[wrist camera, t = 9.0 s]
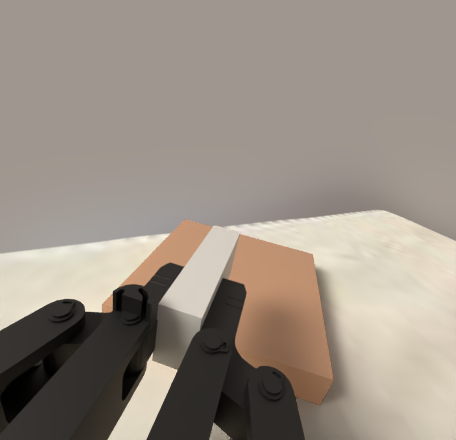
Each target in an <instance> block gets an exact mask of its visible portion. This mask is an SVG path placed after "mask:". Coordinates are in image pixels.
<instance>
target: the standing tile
mask: <svg viewBox="0 0 456 440" xmlns="http://www.w3.org/2000/svg"><path fill="white" fill-rule="evenodd" d="M211 229H212V227H211V226H208V225H204V224H201V223H197V222H193V221H190V220H186V219H185V220H184V221H183V222H182V223H181V224H180V225H179V226H178V227H177V228H176V229H175V230H174V231H173V232H172V233H171V234H170V235H169V236H168V237H167V238H166V239H165V240H164V241H163V242H162V243H161V244H160V245H159V246H158V247H157V248H156V249H155V250H154V251H153V252H152V254H151V255H150V256H149V257H148V258H147V259H146V260H145V261H144V262H143V263H142V264H141V265H140V266H139V267H138V268H137V269H136V270H135V271H134V272H133V273H132V274H131V275H130V276H129V277H128V278H127V279H126V280H125V281H124V282H123V283H122V284H121V285H120V286H119V287H121V286H124V285H129V284H137V285H142V286H145V285H146V284H147V282H148V281H150V279H151V278H152V277H153V275H155V273H156V272H157V271H158V270H159V268H160V267H162V266H164V265H166V264H168V263H170V262H171V263H174V264H177V265H180V266H184V267H185V265H186V264H187V263H188V261H189V260H190V258H191V257H192V256H193V254H194V253H195V251H196V250H197V249H198V247H199V246H200V244H201V243H202V242H203V240H204V239H205V237H206V236H207V234H208V233H209V232H210V230H211ZM228 280H232V281H235V282H238V283H241V284H244V285H245V289H246V292H247V294H246V298H245V302H244V306H243V310H242V314H241V318H240V321H239V325H238V329H237V333H236V337H235V345H236V349H237V351H238V353H239V354H240V356H241V357H242V358H243V359H244V360H245V361H246V362H248V363H249V364H250V365H252V366H253V367H255V368H258V367H259V366H270V367H274V368H276V369H278V370H279V371H281V372H282V373H284V375H285V376H286V377H287V378H288V379H289V381H290V383H291V385H292V388H293V390H294V394H295V397H297V398H300V399H303V400H306V401H309V402H312V403H315V404H318V405H320V404H321V402H322V400H323V398H324V397H325V395H326V393H327V391H328V389H329V388H330V386H331V384H332V382H333V380H334V379H333V373H332V367H331V361H330V355H329V349H328V343H327V337H326V331H325V325H324V319H323V313H322V307H321V301H320V295H319V289H318V283H317V277H316V271H315V265H314V259H313V254H310V253H306V252H303V251H299V250H295V249H292V248H288V247H284V246H281V245H277V244H273V243H270V242H266V241H263V240H259V239H255V238H252V237H248V236H244V235H241V234H240V236H239V240H238V244H237V248H236V252H235V257H234V261H233V265H232V269H231V273H230V276H229V278H228ZM119 287H118V288H119ZM112 311H113V294H112V295H111V296H110V297H109V298H108V299H107V300H106V301H105V302H104V303H103V304H102V313H108V312H112Z"/></svg>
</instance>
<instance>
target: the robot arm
mask: <svg viewBox="0 0 456 440" xmlns="http://www.w3.org/2000/svg"><path fill="white" fill-rule="evenodd" d="M239 236H240V232H236V231H233V230H229V229H226V228H222V227H218V226H215V225H214V226H213V227H212V229H211V230H210V232H209V233H208V234H207V236H206V237H205V239H204V240H203V242H202V243H201V244H200V246H199V247H198V249H197V250H196V251H195V253H194V254H193V256H192V257H191V258H190V260H189V261H188V263H187V264H186V265H185V267H184V266H180V265H177V264H174V263H171V262H170V263H168V264H166V265H164V266H162V267H160V268H159V270H158V271H157V272H156V273H155V275H153V277H152V278H151V279H150V281H148V282H147V284H146V285H145V286H142V285H137V284H129V285H124V286H121V287H119V288H117V289H116V290H114V291H113V311H112V312H108V313H99V312H85V307H84V305H83V304H82V303H81V302H80V301H77V300H74V299H63V300H57V301H55V302H52V303H50V304H48V305H46V306H44V307H42V308H40V309H39V310H37V311H35V312H33V313H31V314H30V315H28V316H26V317H24V318H22V319H21V320H19V321H17V322H15V323H13V324H11V325H10V326H8V327H6V328H4V329H2V330H1V331H0V440H107V439H108V438H109V436H110V434H111V432H112V431H113V429H114V427H115V425H116V424H117V422H118V420H119V418H120V417H121V415H122V413H123V411H124V410H125V408H126V406H127V404H128V402H129V401H130V399H131V397H132V395H133V394H134V392H135V390H136V388H137V387H138V385H139V383H140V381H141V380H142V378H143V376H144V374H145V371H146V366H147V361H148V359H149V358H150V356H151V354H152V353H153V359H152V361H155V362H158V363H161V364H163V365H166V366H169V367H172V368H174V369H177V370H178V371H177V373H176V376H175V378H174V380H173V382H172V384H171V387H170V389H169V391H168V393H167V395H166V398H165V400H164V402H163V404H162V406H161V409H160V411H159V413H158V415H157V418H156V420H155V422H154V424H153V426H152V429H151V431H150V433H149V435H148V437H147V440H209V437H210V433H211V430H212V426H213V422H214V423H215V424H216V425H217V426H218V427H220V428H221V429H222V430H223V431H224V432H225V433H226V434H227V435H229V436H230V440H305V438H304V434H303V429H302V425H301V421H300V416H299V412H298V407H297V403H296V399H295V394H294V390H293V388H292V385H291V383H290V381H289V379H288V378H287V377H286V376H285V375H284V373H282V372H281V371H279V370H278V369H276V368H274V367H270V366H259V367H258V368H255V367H253V366H252V365H250V364H249V363H248V362H246V361H245V360H244V359H243V358H242V357H241V356H240V354H239V353H238V351H237V349H236V345H235V337H236V333H237V329H238V325H239V321H240V318H241V314H242V310H243V306H244V302H245V298H246V294H247V292H246V289H245V285H244V284H241V283H238V282H235V281H232V280H228V278H229V276H230V273H231V269H232V265H233V261H234V257H235V252H236V248H237V244H238V240H239Z"/></svg>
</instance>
